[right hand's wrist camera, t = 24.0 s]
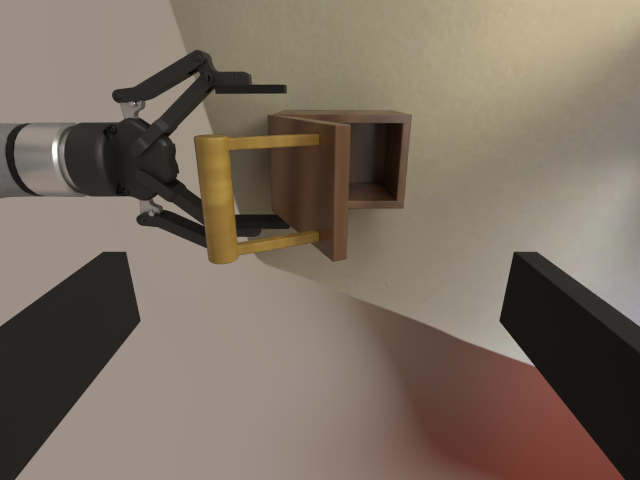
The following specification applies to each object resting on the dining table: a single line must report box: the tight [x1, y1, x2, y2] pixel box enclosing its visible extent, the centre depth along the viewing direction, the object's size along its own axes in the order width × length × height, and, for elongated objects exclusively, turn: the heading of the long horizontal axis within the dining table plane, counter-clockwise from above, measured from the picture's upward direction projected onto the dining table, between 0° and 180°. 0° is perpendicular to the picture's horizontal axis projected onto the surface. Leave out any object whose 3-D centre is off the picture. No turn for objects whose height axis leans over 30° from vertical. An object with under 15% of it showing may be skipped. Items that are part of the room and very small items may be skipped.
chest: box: [274, 110, 412, 208], centre depth 40 cm, size 13×9×9 cm
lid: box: [194, 115, 350, 264], centre depth 28 cm, size 13×9×9 cm
